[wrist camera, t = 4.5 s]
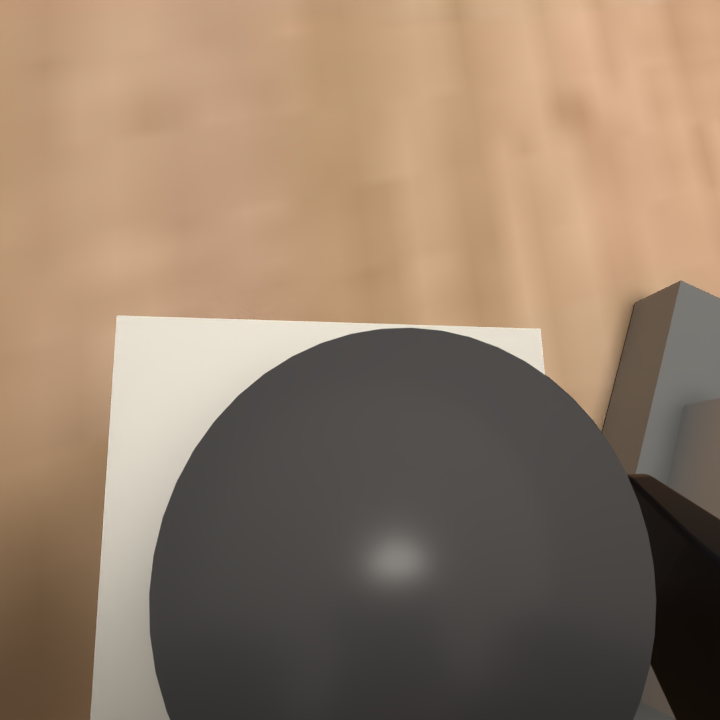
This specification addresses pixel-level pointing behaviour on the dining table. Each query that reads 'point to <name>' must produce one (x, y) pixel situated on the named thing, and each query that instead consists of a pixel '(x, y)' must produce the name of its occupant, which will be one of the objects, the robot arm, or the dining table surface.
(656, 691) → the grey socket base
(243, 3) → the dining table surface
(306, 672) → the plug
